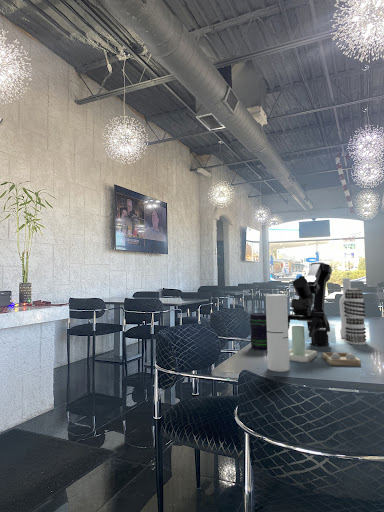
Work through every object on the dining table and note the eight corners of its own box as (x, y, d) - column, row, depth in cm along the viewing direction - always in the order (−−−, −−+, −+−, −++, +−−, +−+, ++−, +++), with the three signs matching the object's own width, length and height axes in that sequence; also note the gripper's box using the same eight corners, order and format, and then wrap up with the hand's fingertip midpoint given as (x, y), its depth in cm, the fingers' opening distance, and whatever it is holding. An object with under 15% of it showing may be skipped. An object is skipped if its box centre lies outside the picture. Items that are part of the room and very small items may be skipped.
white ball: (329, 361, 123) (329, 353, 123) (333, 360, 125) (333, 351, 125) (337, 363, 121) (337, 354, 121) (341, 361, 123) (341, 352, 123)
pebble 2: (344, 361, 122) (344, 353, 122) (348, 360, 124) (347, 351, 124) (353, 363, 120) (352, 354, 120) (356, 361, 122) (356, 353, 122)
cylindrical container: (265, 366, 121) (263, 294, 123) (285, 365, 122) (282, 294, 123) (271, 371, 114) (269, 295, 116) (292, 371, 115) (290, 295, 116)
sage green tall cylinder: (290, 354, 135) (289, 326, 136) (301, 353, 136) (299, 325, 137) (296, 357, 130) (295, 327, 131) (307, 356, 132) (306, 327, 132)
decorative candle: (341, 343, 161) (339, 288, 162) (350, 340, 167) (347, 288, 168) (362, 345, 154) (359, 289, 156) (370, 342, 160) (367, 288, 162)
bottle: (358, 337, 176) (355, 277, 178) (358, 339, 168) (355, 277, 170) (340, 336, 179) (338, 278, 181) (340, 338, 172) (337, 278, 174)
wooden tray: (322, 357, 132) (322, 352, 132) (349, 358, 131) (349, 352, 131) (330, 365, 120) (330, 359, 121) (360, 366, 119) (360, 360, 119)
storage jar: (274, 350, 147) (273, 315, 148) (250, 350, 148) (249, 315, 149) (272, 346, 156) (271, 312, 157) (250, 345, 158) (249, 312, 159)
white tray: (291, 353, 141) (291, 348, 141) (316, 356, 135) (316, 350, 135) (281, 359, 131) (280, 354, 131) (307, 362, 125) (307, 356, 126)
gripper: (277, 291, 143) (267, 321, 133) (324, 291, 133) (317, 323, 123) (284, 308, 149) (276, 338, 139) (329, 310, 139) (324, 342, 129)
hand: (297, 335), depth 133 cm, fingers open, 9 cm apart
